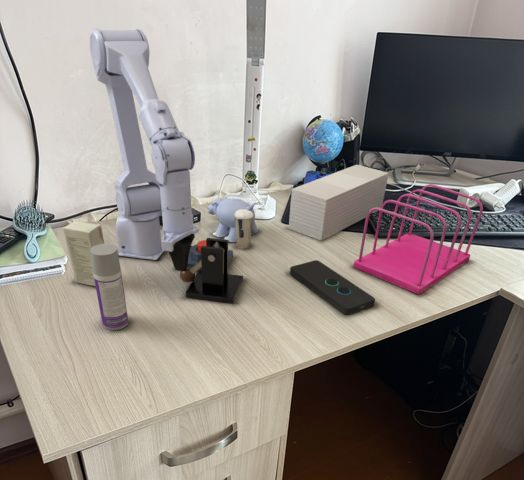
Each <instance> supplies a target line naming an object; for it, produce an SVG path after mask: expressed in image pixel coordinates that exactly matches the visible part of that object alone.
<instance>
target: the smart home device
mask: <svg viewBox="0 0 524 480" xmlns="http://www.w3.org/2000/svg"><path fill="white" fill-rule="evenodd" d="M289 274H290V276H291V277H293V278H294V279H295V280H297V281H298V282H300V283H301V284H303V285H304V286H305V287H306V288H307V289H309V290H310V291H312V292H313V293H315V294H316V295H317V296H318V297H320V298H321V299H322V300H324V301H325V302H327V303H328V304H329V305H331V306H332V307H333V308H335V309H336V310H337V311H339V312H340V313H341V314H343V315H345V316H350V315H352V314H356V313H359V312H361V311H364V310H367V309H370V308H373V307H375V302H376V298H375V297H374V296H372V294H369V293H368V292H367V291H365V290H363V289H362V288H360V287H359V286H357V285H356V284H354V283H353V282H351V281H350V280H349V279H347V278H345V277H344V276H343V275H341V274H339V273H338V272H337V271H335V270H333V269H332V268H330V266H327V265H326V264H324V263H323V262H321V261H320V260H317V259H315V260H311V261H307V262H304V263H303V262H302V263H299V264H295V265H291V266H290V268H289Z"/></svg>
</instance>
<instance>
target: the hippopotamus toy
mask: <svg viewBox="0 0 524 480" xmlns="http://www.w3.org/2000/svg"><path fill="white" fill-rule="evenodd" d="M257 204H258V202H253V203H251V204H249V203H248V202H247V201H245V200H242V199H239V198H228V197H225V198H220V197H219V198H216V199H214V200H213V201H212V203H211V204H210V203H208V204H207V210H208V214H209V215H212V216H216V218H217V220H218V225H217V228H216V231H213V233H212V235H213V236H215V237H217V238H223V239H224V240H228V243H236V227H235V218H234V214H235V212H236V211H237V210H239V209H247V210H249V211H251V212H252V213H253V222H252V229H251V235H252V234H253V235H254V234H257V233H259V229H258V226H257V224H256V211H255V209H254V208H255V205H257Z"/></svg>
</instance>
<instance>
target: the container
mask: <svg viewBox="0 0 524 480" xmlns="http://www.w3.org/2000/svg"><path fill="white" fill-rule="evenodd" d="M118 253H119V250H118V246H116V245H114V244H111V243H104V244H99V245H95V246H93V247H92V248H91V249H90V255H91V261H92V268H93V275H94V281H95V286H94V287H95V290H96V291H95V292H96V296H97V301H98V307H99V312H100V319H101V323H102V326H103V328H104V329H106V330H109V331H117V330H121V329H124V328H125V327H127V326H128V324H129V317H128V310H127V309H128V308H127V303H126V302H127V301H126V296H125V295H126V294H125V288H124V287H125V286H124V280H123V274H122V268H121V263H120V258H119V255H118Z"/></svg>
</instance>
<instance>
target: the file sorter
mask: <svg viewBox="0 0 524 480" xmlns="http://www.w3.org/2000/svg"><path fill="white" fill-rule="evenodd" d="M429 187H431V188H435V189H438V190H442V191H444V192H448V193H451V194H453V195H456V196H457V195H458V196H460V197H462V198H466V199H469V200H472V201H475V202H476V204H478V206H479V213H478V215H477V218H476V221H475V223H474V226H473V228H472V229H473V230H472V233H471V235H470V238H469V241H468V243H467V246H466V249H465V251H462V247H463V245H464V241H465V238H466V236H467V232H468V230H469V226H470V223H471V220H472V215H473V214H472V213H473V212H472V210H471V208H470V206H469V205H467V204H466V203H463V202H461V201H458V200H455V199H452V198H449V197H447V196H443V195H440V194H437V193H434V192H430V191H427V190H426V189H427V188H429ZM416 193H419V195H415V194H416ZM423 194H425V195H428V196H431V197H433V198H434V197H435V198H438V199H441V200H443V201H447V202H450V203H452V204H456V205H459V206H461V207H463V208H464V209H465V210H466V211H467V213H468V218H467V220H466V224H465V228H464V230H463V232H462V235H461V239H460V242H459V244H458V248H457V249H456V248H454V246H455V244H456V241H457V238H458V235H459V233H460V229H461V226H462V217H461V215H460V213H459V212H457V210H454V209H453V208H450V207H448V206H445V205H443V204H440V203H437V202H435V201H432V200H429V199H426V198H423V197H422V196H423ZM405 197H407V200H406V203H405V202H401V200H402V199H403V198H405ZM411 198H412V199H415V200H417V202H416V205H415V206H414V205H411V204H410V202H411ZM421 202H423V203H426V204H429V205H431V206H435V207H436V208H439V209H442V210H445V211H447V212H450V213H452V214H453V215H455V216H456V218H457V226H456V229H455V232H454V235H453V238H452V240H451V244H450V246H448V245H445V244H444V241H445V236H446V233H447V230H448V229H447V228H448V225H447V221H446V219H445V218H444V217H443V216H442V215H441V214H439V213H436V212H434V211H431V210H428V209H424V208H420V207H419V206H420V204H421ZM390 203H391V204H395V207H394V211H390V210H388V209H384V208H385V206H386V205H387V204H390ZM399 206H402V207H405V208H404V211H403V214H400V213H398V209H399ZM408 209H410V210H411V209H412V210H413V211H414V213H413V216H412V217H410V216H407V213H408ZM373 211H377V212H379V213H378V218H377V224H376V230H375V236H374V241H373V246H372V251H371V252H369V253H367V254H365V255H363V254H364V253H363V252H364V248H365V242H366V236H367V231H368V224H369V220H370V216H371V215H370V214H371V213H372V212H373ZM418 212H420V213H423V214H427V215H430V216H432V217H436V218H438V219H439V220H441V221H442V224H443V228H442V229H443V230H442V234H441V238H440V241H439V242H437V241H434V238H435V235H434V230H433V228H432V227H431V226H430V225H429V224H428V223H426V222H423V221H421V220H418V219H416V218H417V215H418ZM483 212H484V207H483V203H482V201H481V200H479V198H477V197H474V196H471V195H468V194H465V193H463V192H459V191H457V190H454V189H450V188H446V187H443V186H440V185H437V184H433V183H428V184H425V185H424V186H423V187H422V188H421V189H420V188H419V189H418V188H417V189H414V190H412V191H411V192H410V193H404V194H402V195H400V196H399V197H398V198H397V200H394V199H387V200H385V201H383V204H382V206H381V208H373V209H371V210H370V211H369V212H368V214H367V216H366V218H365V221H364V225H363V231H362V232H363V233H362V238H361V244H360V250H359V255H358V258H357V259H355V260H354V262H353V266H352V267H353V268H354V269H357V270H359V271H362V272H364V273H367V274H369V275H371V276H374V277H376V278H377V279H381V280H384V281H385V282H388V283H390V284H393V285H396V286H397V287H399V288H402V289H405V290H407V291H409V292H412V293H414V294H416V295H421V294H422V293H424V292H425V291H427V290H428V289H429V288H431V287H432V286H434V285H435V284H437V283H438V282H440V281H441V280H443V279H444V278H445V277H447V276H448V275H450V274H451V273H453V272H454V271H456V270H457V269H458V268H460V267H461V266H463V265H464V264H466V263H467V262H469V261H470V258H471V254H470V253H469V251H470V249H471V245H472V243H473V240H474V237H475V234H476V231H477V229H478V226H479V223H480V221H481V218H482V215H483ZM383 213H384V214H388V215H391V216H392V218H391V221H390V224H389V225H390V226H389V230H388V233H387V237H386V242H385V244H384V245H383V246H380V247H378V248H377V244H378V237H379V232H380V227H381V222H382V216H383ZM396 218H399V219H401V222H400V227H399V228H400V229H399V231H398V236H397V238H396V239H394V240H392V241H390V239H391V235H392V231H393V228H394V224H395V221H396ZM405 220H406V221H408V222H410V223H411V224H410V227H409V231H408V233H409V234H407V233H406V234H405V233H404V234H403V235H402V233H403V230H404V225H405ZM415 224H417V225H421V226H423V227H424V228H426V229H427V230H428V231H429V234H430V235H429V237H430V238H429V239H428V238H425V237H422V236H419V235H416V234H413V233H412V232H413V230H414V229H413V228H414V225H415Z"/></svg>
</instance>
